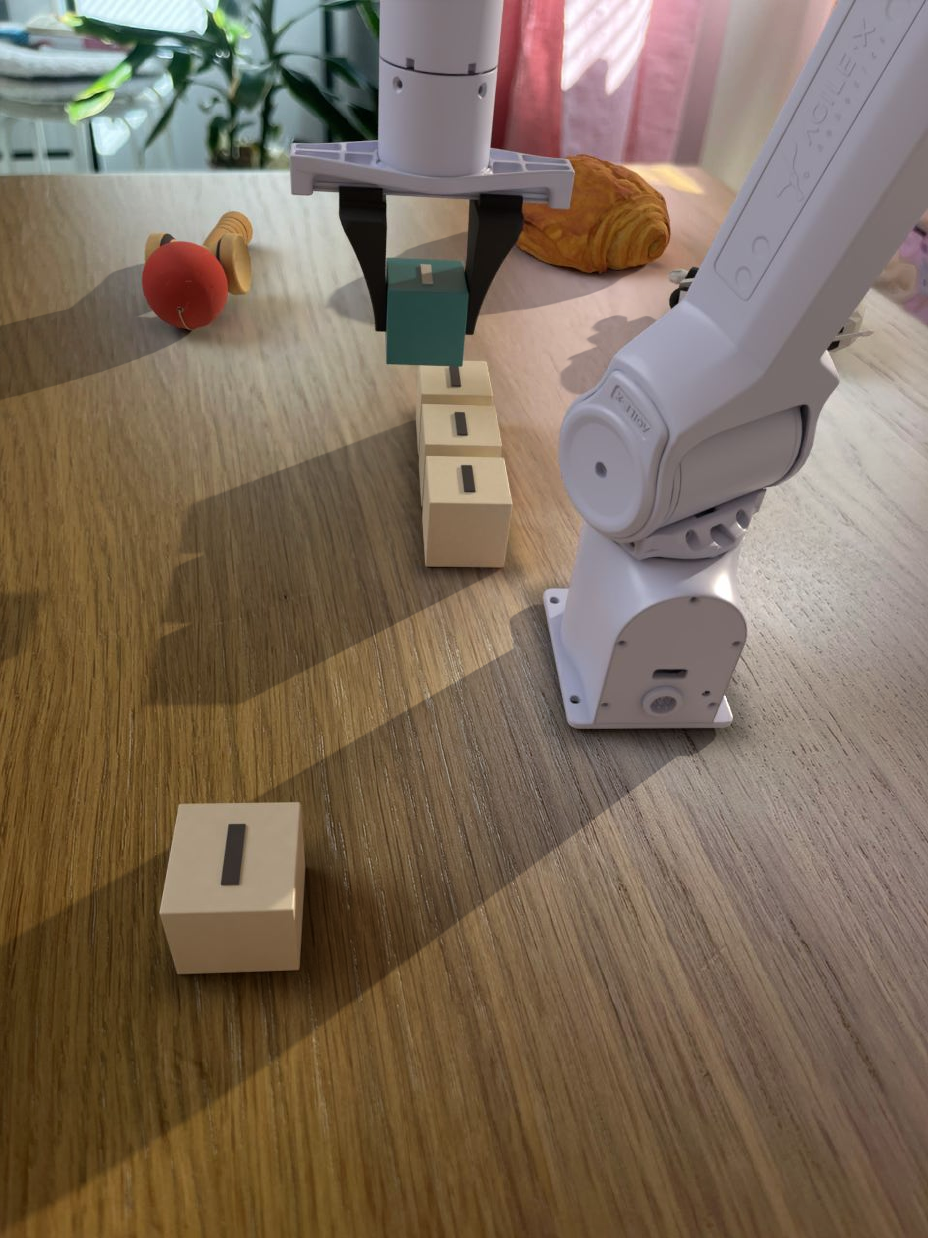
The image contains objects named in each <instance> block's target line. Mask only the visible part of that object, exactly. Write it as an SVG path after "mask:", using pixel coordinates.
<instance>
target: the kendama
mask: <svg viewBox="0 0 928 1238" xmlns="http://www.w3.org/2000/svg"><path fill="white" fill-rule="evenodd" d="M253 229H254V228H253V225H252V223H251V221H250V220H249V218H248V217H247V216H246V215H245V214H244V213H241V212H239V211H235V210H232V211H227V212H225V213H224V214H223V215H221V217H220V218H219V220H218V221H217V223H216V224H215V226H214V227H213V229H212V230H211V231H210V233H209V234H208V235H207V236H206V238H205V240H204V241H203V244H202V245H201V244H197V243H194V242H191V241H183V240H177V239H176V238H175V237H174V236H173V235H172V234H171V233H170V232H154V233H153V232H152V233H151V234H149V235H148V237H147V238H146V241H145V245H144V265H143V269H142V273H141V286H142V292H143V296H144V298H145V300H146V303H147V305H148V307H150V309H151V310H152V312H153V313H154V314H155V315H156V316H157V317H158V318H159V319H161V320H162V321H163V322H164V323H166V324H168V325H170V326H172V327H175V328H179V329H184V330H189V331H195V330H197V329H201V328H203V327H205V326H207V325H209V324H211V323H212V322H214V321H216V319H217V318H218V317H219V316H220V315H221V313H222V312H223V310H224V308H225V306H226V303H227V301H228V295H229V294H231V295H232V296H241V295H246V294H248V293H249V290H250V288H251V285H252V278H253V277H252V276H253V275H252V272H253V271H252V261H251V255H250V250H249V246H248V245H249V244H250V243H251V241H252V239H253V236H254V230H253Z"/></svg>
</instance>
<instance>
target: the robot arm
mask: <svg viewBox="0 0 928 1238" xmlns="http://www.w3.org/2000/svg"><path fill="white" fill-rule="evenodd" d="M504 2H505V1H504V0H379V39H378V40H379V43H378V44H379V45H378V46H379V49H378V119H377V120H378V121H377V122H378V123H377V124H378V127H377V130H378V131H377V134H378V135H377V140H362V141H342V142H324V143H323V142H322V143H320V142H319V143H304V142H292V143H291V144H290V150H289V154H288V157H289V159H288V160H289V175H290V176H289V177H290V178H289V179H290V195H292V196H307V197H309V196H312V195H313V194H314V192H322V193H323V192H324V193H337V194H338V219H339V221H340V224H341V226H342V227H341V228H342V229H343V232H344V234H345V236H346V238H347V240H348V242H349V244H350V246H351V248H352V250H353V252H354V254H355V257H356V259H357V261H358V264H359V266H360V270H361V272H362V274H363V275H362V276H363V278H364V281H365V284H366V287H367V290H368V294H369V298H370V303H371V307H372V312H373V318H374V331H375V332H377V333H378V332H379V333H380V332H381V333H385V332H386V326H387V291H386V259H387V236H388V218H387V215H388V214H387V212H388V211H387V209H388V207H387V205H388V203H387V196H397V197H415V198H416V197H417V198H432V199H433V198H435V199H451V200H452V199H453V200H454V199H455V200H468V223H467V239H466V240H467V241H466V242H467V243H466V258H465V266H464V272H465V278H466V283H467V289H468V294H469V296H468V308H467V320H466V331H465V336H473V335H475V330H476V326H477V321H478V319H479V316H480V313H481V309H482V307H483V304H484V301H485V299H486V297H487V295H488V292H489V289H490V287H491V285H492V283H493V281H494V279H495V277H496V275H497V273H498V272H499V270H500V268H501V266H502V265H503V263H504V261H505V260H506V258H507V257H508V255H509V254H510V252H511V250H512V249H513V248H514V246H515V245H516V242H517V241H518V239H519V237H520V234H521V232H522V229H523V225H524V216H523V213H522V206H523V202H527V203H545V204H548V206H549V207H550V208H553V209H569V207H570V201H571V194H572V188H573V181H574V175H575V172H574V169H573V167H572V165H571V163H570V161H569V159H563V158H560V157H559V158H558V157H548V156H541V155H536V154H535V155H534V154H528V153H522V152H517V151H511V150H505V149H500V148H494V147H491V143H492V134H493V133H492V131H493V122H494V111H495V101H496V100H495V99H496V90H497V89H496V88H497V79H498V68H499V67H498V65H499V56H500V55H499V54H500V46H501V45H500V44H501V33H502V21H503V10H504ZM927 210H928V0H837V3H836V4H835V6H834V9H833V10H832V12H831V14H830V16H829V18H828V19H827V21H826V24H825V25H824V27H823V30H822V31H821V33H820V34H819V37H818V39H817V41H816V42H815V45H814V47H813V48H812V51H811V53H810V54H809V56H808V58H807V60H806V62H805V64H804V66H803V68H802V69H801V72H800V73H799V75H798V77H797V79H796V82H795V83H794V85H793V87H792V88H791V91H790V93H789V94H788V97H787V99H786V101H785V102H784V105H783V106H782V109H781V110H780V112H779V114H778V116H777V118H776V120H775V121H774V124H773V126H772V127H771V129H770V131H769V133H768V135H767V137H766V139H765V141H764V143H763V145H762V147H761V149H760V150H759V153H758V154H757V157H756V158H755V161H754V163H753V164H752V166H751V168H750V170H749V171H748V174H747V175H746V178H745V179H744V181H743V184H742V185H741V187H740V189H739V191H738V193H737V195H736V196H735V199H734V201H733V203H732V205H731V207H730V208H729V210H728V212H727V214H726V216H725V218H724V220H723V222H722V224H721V225H720V227H719V230H718V232H717V233H716V236H715V237H714V240H713V241H712V243H711V245H710V247H709V249H708V250H707V253H706V255H705V256H704V259H702V262H701V264H700V266H699V267H698V268H699V270H698V272H697V274H696V276H695V278H694V280H693V282H692V284H691V285H690V287H689V289H688V291H687V293H686V295H685V297H684V298H683V299H682V300H681V301H680V302H679V303H678V304H677V305H676V306H674V307H673V308H672V309H671V308H670V309H669V310H668V311H667V312H666V313H664V314H663V315H662V316H661V317H659V318H658V319H656V321H654V322H653V323H651V324H650V325H649V326H648V327H646V328H645V329H643V330H642V331H641V332H640V333H638V334H637V335H636V336H635V337H634V338H632V339H631V340H629V342H628V343H625V345H624V346H622V348H620V349H619V350H618V351H617V352H616V353H614V355H613V356H612V358H611V360H610V362H609V363H608V367H607V368H606V371H605V372H604V374H603V376H602V378H601V379H600V380H599V381H598V382H597V384H596V385H595V386H593V388H591V389H589V390H586V392H584V393H582V394H580V395H579V396H577V397H576V398H575V399H574V400H573V401H572V402H571V403H570V405H569V406H568V408H567V409H566V412H565V414H564V416H563V418H562V422H561V425H560V429H559V437H558V451H557V452H558V453H557V455H558V467H559V472H560V477H561V481H562V483H563V486H564V489H565V492H566V494H567V496H568V498H569V500H570V502H571V504H572V505H573V507H574V509H575V510H576V511H577V513H578V514H579V515H580V516H581V518H582V523H581V527H580V532H579V538H578V541H577V546H576V551H575V556H574V561H573V567H572V571H571V576H570V581H569V585H568V588H547V589H545V590H544V592H543V596H542V600H543V601H542V602H543V606H544V612H545V617H546V622H547V626H548V632H549V636H550V640H551V641H550V642H551V647H552V653H553V656H554V663H555V667H556V672H557V677H558V683H559V687H560V693H561V697H562V703H563V707H564V712H565V718H566V721H567V723H568V725H569V727H571V728H573V729H576V730H577V729H578V730H588V729H589V730H591V729H592V730H597V729H598V730H599V729H600V730H602V729H603V730H604V729H609V730H611V729H613V730H616V729H617V730H618V729H725V728H729V727H730V726H731V724H732V722H733V720H734V717H733V713H732V710H731V707H730V704H729V702H728V699H727V696H726V692H727V690H728V687H729V685H730V682H731V680H732V678H733V675H734V673H735V671H736V668H737V665H738V663H739V660H740V659H741V658H740V657H741V655H742V653H743V650H744V648H745V646H746V642H747V639H748V628H749V627H748V621H747V617H746V614H745V610H744V608H743V603H742V600H741V596H740V594H739V593H740V592H739V582H738V569H739V560H740V555H741V551H742V549H743V544H744V541H745V537H746V534H747V532H748V529H749V527H750V524H751V521H752V518H753V515H755V514H757V513H759V512H760V509H761V507H762V505H763V502H764V498H765V496H766V493H767V490H768V489H767V488H772V487H776V486H779V485H782V484H784V483H786V482H788V481H789V480H791V479H792V478H793V477H795V475H797V474H798V473H799V472H800V470H801V469H802V468H803V467H804V466H805V464H806V462H807V460H808V458H809V457H810V455H811V452H812V449H813V447H814V443H815V438H816V431H817V427H818V426H817V425H818V421H819V418H820V415H821V413H822V410H823V408H824V407H825V404H826V403H827V401H828V400H829V398H830V397H831V395H832V394H833V393H834V391H835V390H836V389H837V388H838V386H839V384H840V382H841V377H840V375H839V372H838V370H837V368H836V365H835V362H834V361H833V358H832V357H831V354H830V352H828V351H827V348H828V347H829V346H830V344H831V343H832V341H833V340H834V339H835V337H836V336H837V334H838V333H839V332H840V330H841V329H842V327H843V326H844V325H845V323H846V322H847V320H848V319H849V318H850V316H851V315H852V313H853V312H854V311H855V309H856V308H857V306H858V305H859V304H860V302H861V301H862V299H863V298H864V299H865V297H866V295H867V294H868V292H869V291H870V289H871V288H872V287H873V286H874V284H875V283H876V281H877V280H878V278H879V277H880V276H881V275H882V273H883V271H884V270H885V268H886V267H887V266H888V264H889V263H890V261H892V259H893V257H894V256H895V255H896V253H897V252H898V250H900V248H901V246H902V245H903V243H905V240H906V239H908V236H909V235H910V234H911V232H912V231H913V230H914V228H915V227H916V226H917V224H918V222H919V221H920V220H921V218H922V217H923V215H924V214H925V212H926V211H927ZM574 702H576V703H574Z"/></svg>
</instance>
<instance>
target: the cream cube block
mask: <svg viewBox="0 0 928 1238" xmlns="http://www.w3.org/2000/svg"><path fill="white" fill-rule="evenodd" d="M416 384H417V385H416V404H415V405H416V406H415V407H416V408H415V427H416V443H417V444H416V445H417V455H418V456H419V451H420V432H421V412H422V404H445V405H478V406H493V398H494V395H493V390H492V385H491V379H490V373H489V367H488V363H487V360H463V366H462V367H454V366H424V365H417V383H416Z"/></svg>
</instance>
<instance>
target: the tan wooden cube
mask: <svg viewBox="0 0 928 1238" xmlns="http://www.w3.org/2000/svg"><path fill="white" fill-rule="evenodd" d="M502 451H503V444H502V439H501V433H500V427H499V421H498V417H497V411H496V406H495V405H492V406H478V405H445V404H422V412H421V432H420V451H419V455H418V473H419V474H418V475H419V488H420V489H419V490H420V491H419V492H420V503H421V504H420V505H421V507H422V508H423V497H424V479H425V462H426V456H452V457H493V458H502Z"/></svg>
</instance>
